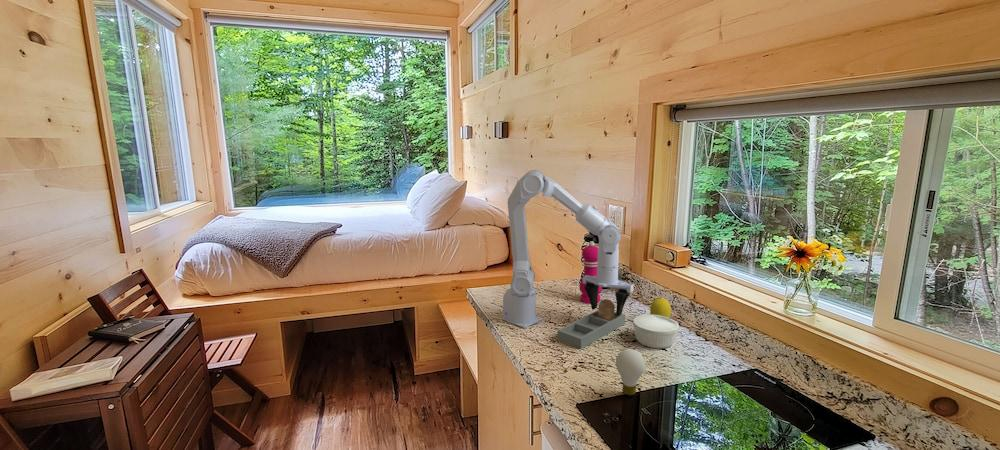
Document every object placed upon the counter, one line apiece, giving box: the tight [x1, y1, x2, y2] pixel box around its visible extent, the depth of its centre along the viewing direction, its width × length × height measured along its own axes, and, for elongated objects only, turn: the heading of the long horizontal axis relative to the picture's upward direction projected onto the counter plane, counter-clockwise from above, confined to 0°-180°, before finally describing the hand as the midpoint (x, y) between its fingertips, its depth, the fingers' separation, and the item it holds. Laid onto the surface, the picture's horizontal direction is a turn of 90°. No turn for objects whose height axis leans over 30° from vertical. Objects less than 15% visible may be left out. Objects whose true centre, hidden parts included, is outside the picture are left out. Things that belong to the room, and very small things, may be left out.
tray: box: [556, 309, 626, 350], centre depth 124 cm, size 8×21×3 cm, turn 134°
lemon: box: [649, 296, 672, 319], centre depth 128 cm, size 6×6×8 cm
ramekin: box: [632, 313, 680, 349], centre depth 118 cm, size 11×11×5 cm
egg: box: [598, 298, 616, 321], centre depth 129 cm, size 4×4×7 cm
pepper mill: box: [578, 240, 603, 305], centre depth 146 cm, size 7×7×20 cm
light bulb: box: [615, 348, 646, 396], centre depth 94 cm, size 6×6×10 cm
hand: (606, 311), depth 129 cm, fingers open, 7 cm apart
